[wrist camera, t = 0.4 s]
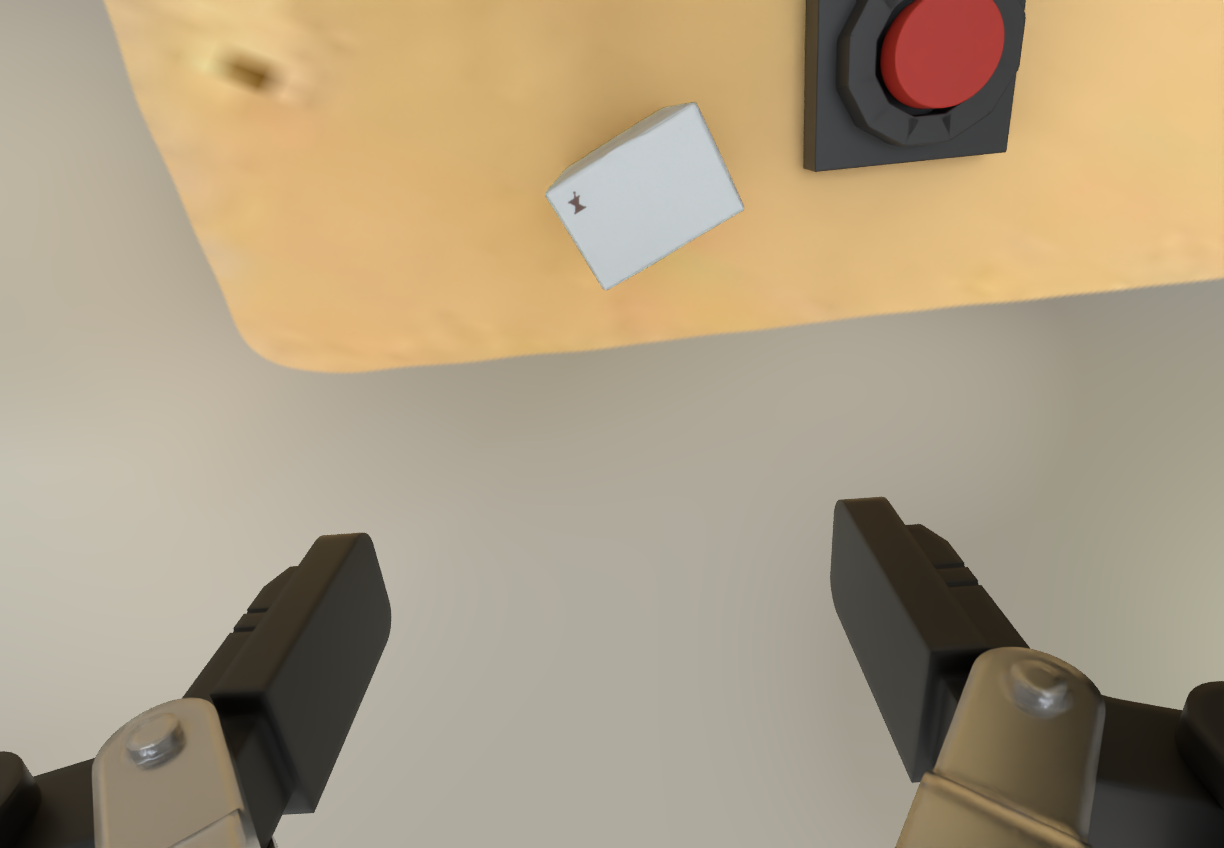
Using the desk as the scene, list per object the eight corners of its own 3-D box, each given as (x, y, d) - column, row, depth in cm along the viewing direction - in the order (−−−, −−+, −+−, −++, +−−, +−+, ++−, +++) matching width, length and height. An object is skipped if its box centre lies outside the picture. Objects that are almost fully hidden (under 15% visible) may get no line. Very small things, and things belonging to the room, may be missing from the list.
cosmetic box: (605, 243, 36) (600, 296, 25) (563, 169, 35) (538, 191, 24) (707, 182, 35) (749, 210, 24) (668, 102, 33) (693, 94, 22)
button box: (806, -42, 31) (832, -63, 27) (1008, -65, 30) (1062, -91, 27) (803, 169, 35) (825, 174, 31) (983, 150, 34) (1027, 153, 30)
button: (883, -1, 28) (898, -9, 27) (990, -14, 28) (1012, -22, 27) (876, 113, 30) (891, 113, 29) (977, 103, 30) (997, 102, 28)
